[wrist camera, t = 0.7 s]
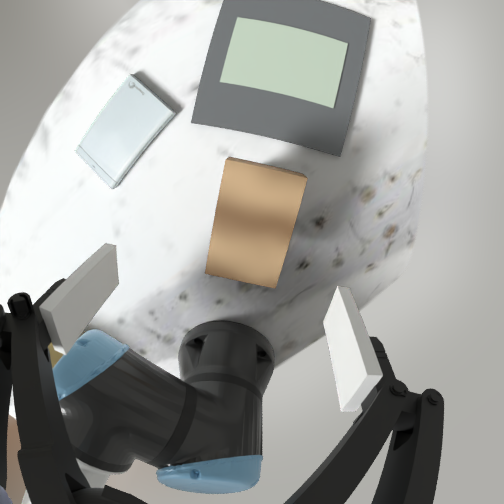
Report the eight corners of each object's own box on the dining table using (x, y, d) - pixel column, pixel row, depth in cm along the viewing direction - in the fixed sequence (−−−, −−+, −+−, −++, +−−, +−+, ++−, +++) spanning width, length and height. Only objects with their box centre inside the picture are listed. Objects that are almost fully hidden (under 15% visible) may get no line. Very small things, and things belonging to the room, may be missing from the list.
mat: (338, 156, 30) (340, 157, 29) (192, 123, 29) (190, 122, 28) (368, 20, 22) (371, 17, 21) (230, -14, 21) (229, -17, 20)
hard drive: (129, 73, 25) (73, 151, 29) (174, 112, 27) (111, 190, 31) (135, 75, 26) (80, 149, 30) (178, 113, 29) (117, 187, 32)
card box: (274, 275, 29) (275, 288, 27) (209, 261, 29) (204, 273, 27) (303, 173, 25) (307, 178, 23) (229, 156, 24) (225, 159, 22)
